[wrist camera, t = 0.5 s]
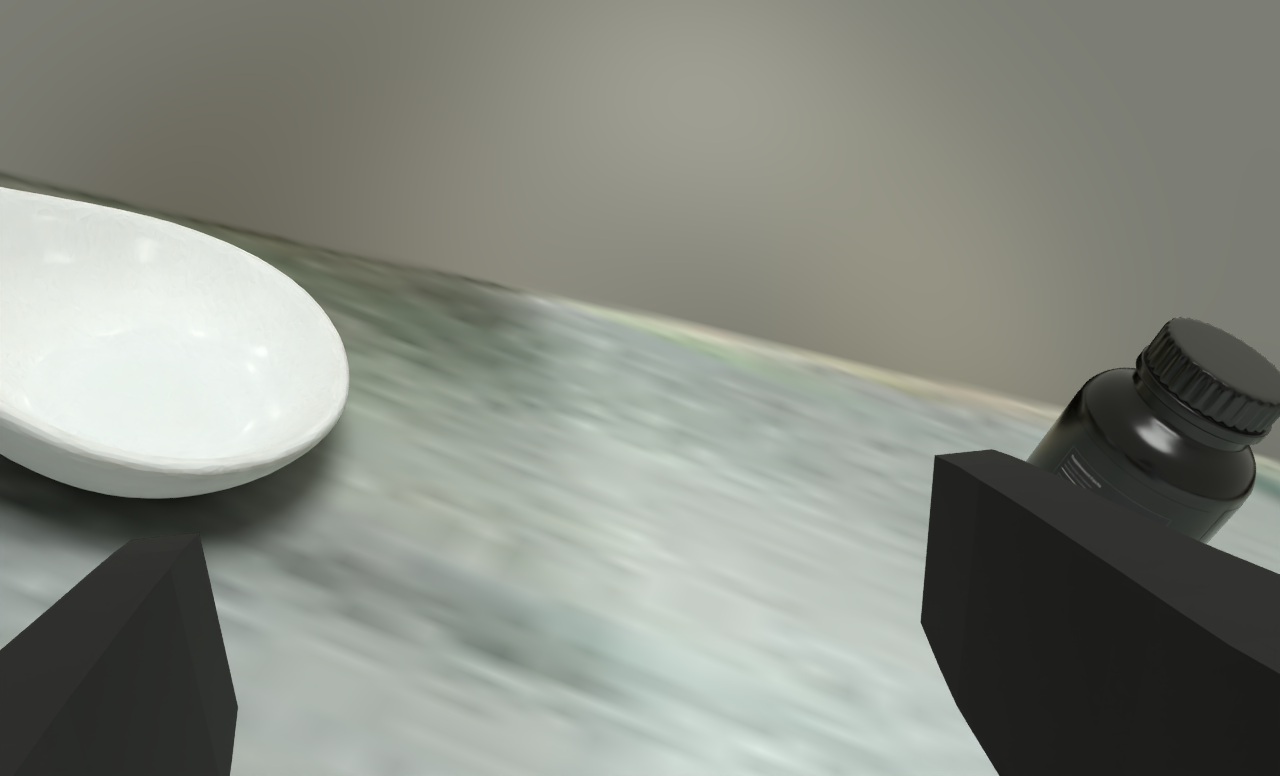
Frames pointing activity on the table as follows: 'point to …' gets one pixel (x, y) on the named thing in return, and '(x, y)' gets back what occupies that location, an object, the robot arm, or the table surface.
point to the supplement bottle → (1170, 429)
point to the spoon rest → (154, 354)
